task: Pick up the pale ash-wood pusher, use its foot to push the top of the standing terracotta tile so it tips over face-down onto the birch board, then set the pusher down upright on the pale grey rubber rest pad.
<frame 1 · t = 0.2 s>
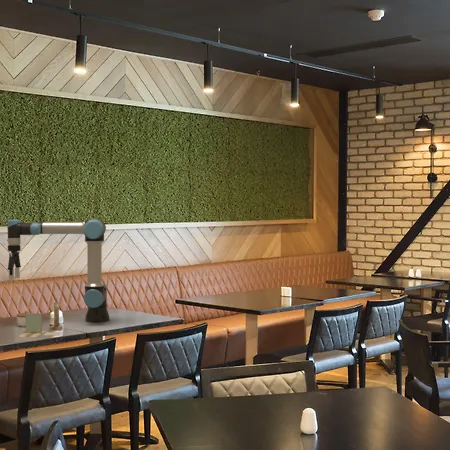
hand: (14, 279, 448), 28 cm above the table, fingers open, 13 cm apart
tile: (34, 332, 419), resting on board
pusher: (56, 330, 428), on the table
lidded jar: (25, 327, 441), on the table
rest pad: (52, 334, 414), on the table
board: (32, 334, 414), on the table
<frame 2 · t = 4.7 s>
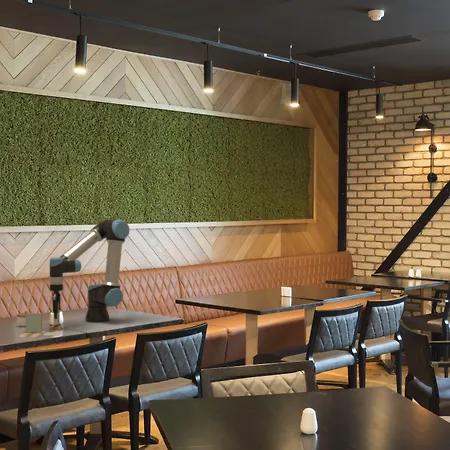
hand: (56, 323, 428), 4 cm above the table, fingers closed on pusher, 3 cm apart
pusher: (56, 330, 428), on the table, touching gripper
everything else where it was.
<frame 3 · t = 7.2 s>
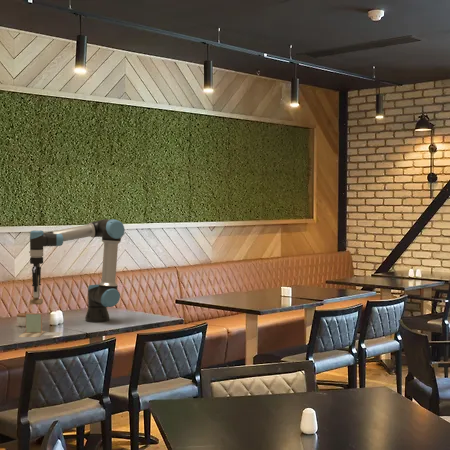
hand: (36, 297, 426), 20 cm above the table, fingers closed on pusher, 3 cm apart
pusher: (36, 303, 426), point 16 cm above the table, touching gripper
everything else where it was.
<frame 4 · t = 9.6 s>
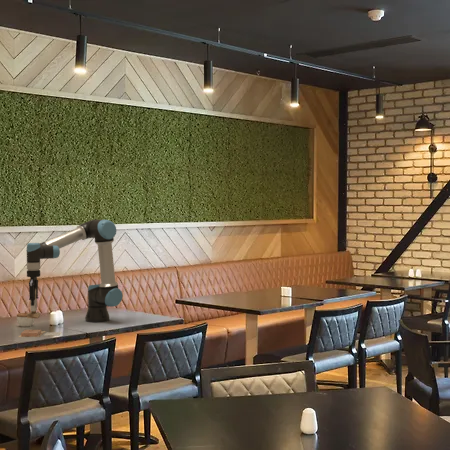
hand: (33, 310, 418), 13 cm above the table, fingers closed on pusher, 3 cm apart
tile: (33, 331, 417), point 2 cm above the table, tilted 90°, touching board
pusher: (33, 317, 418), point 9 cm above the table, touching gripper
everything else where it was.
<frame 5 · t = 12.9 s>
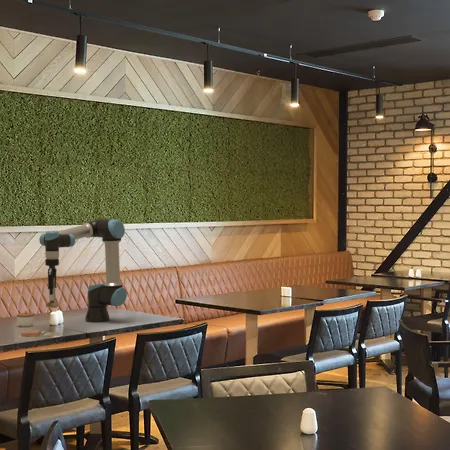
hand: (52, 299, 414), 20 cm above the table, fingers closed on pusher, 3 cm apart
pusher: (52, 306, 414), point 16 cm above the table, touching gripper
everything else where it was.
when the fingers open (6 cm above the table, at t = 15.4 s): pusher drops 2 cm, resting on rest pad.
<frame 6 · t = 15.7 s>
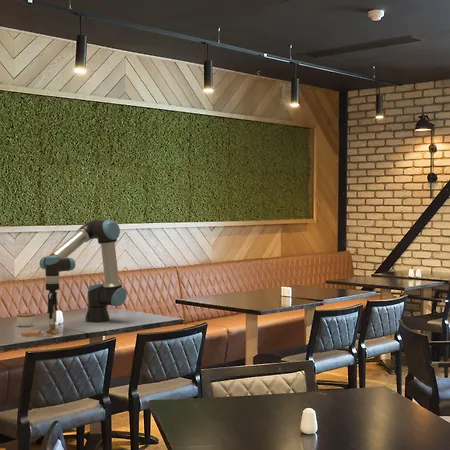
hand: (52, 323, 414), 7 cm above the table, fingers open, 7 cm apart
pusher: (52, 333, 414), point 1 cm above the table, touching rest pad
everything else where it was.
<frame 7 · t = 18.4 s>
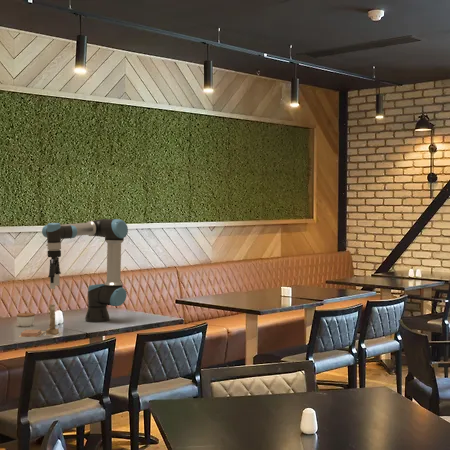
hand: (54, 287, 417), 27 cm above the table, fingers open, 13 cm apart
nothing on the table moved.
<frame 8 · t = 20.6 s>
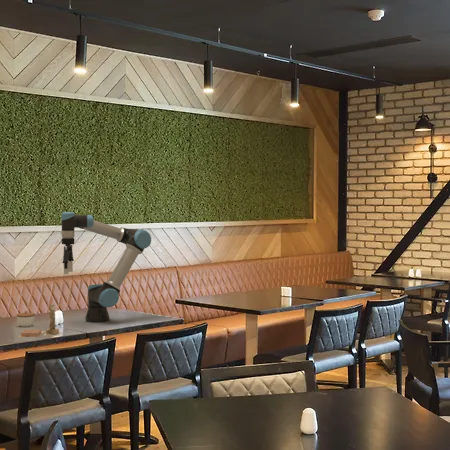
hand: (68, 273, 438), 33 cm above the table, fingers open, 13 cm apart
nothing on the table moved.
at the end: tile tilted 90°; tile inside the target area (1.8 cm from its centre), point 1.5 cm above the table; pusher 0.1 cm off-centre on the rest pad, point 0.6 cm above the rest pad's base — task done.
